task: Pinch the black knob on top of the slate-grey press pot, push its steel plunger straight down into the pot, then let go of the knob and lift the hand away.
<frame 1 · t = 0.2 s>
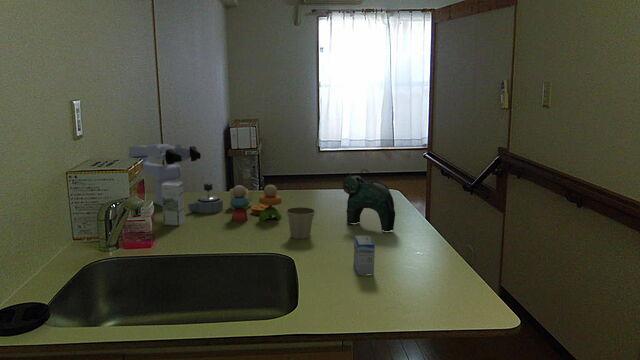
hand: (190, 157, 203), 21 cm above the worktop, tool horizontal, fingers open, 7 cm apart
flower pot: (300, 237, 180), on the worktop
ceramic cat: (369, 227, 191), on the worktop
beige rounded domed part: (239, 207, 217), on the worktop
plunger: (208, 191, 212), point 7 cm above the worktop, slide at 0.0 cm
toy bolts: (254, 217, 204), on the worktop
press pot: (208, 209, 213), on the worktop
medicine box: (363, 271, 150), on the worktop
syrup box: (174, 224, 193), on the worktop
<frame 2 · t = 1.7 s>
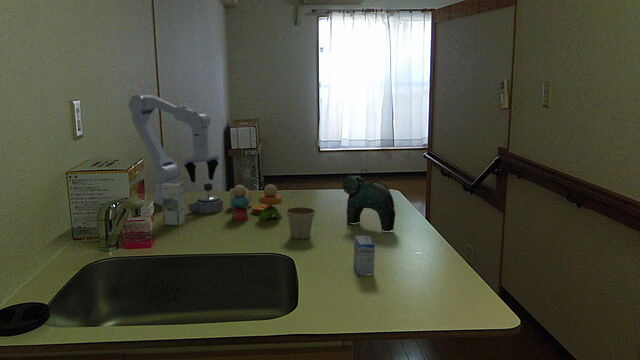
hand: (202, 180, 215), 10 cm above the worktop, tool pointing down, fingers open, 7 cm apart
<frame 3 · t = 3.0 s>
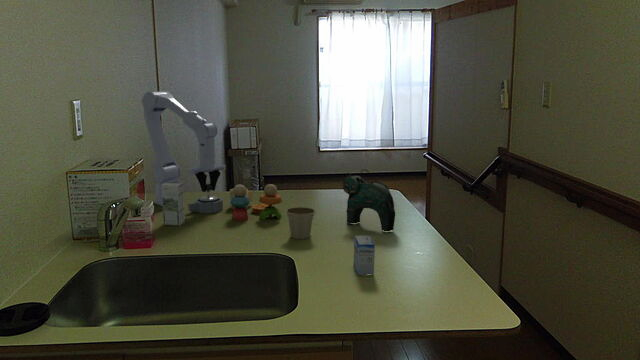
hand: (208, 190, 211), 7 cm above the worktop, tool pointing down, fingers closed on plunger, 3 cm apart
plunger: (208, 191, 212), point 7 cm above the worktop, slide at 0.0 cm, touching gripper
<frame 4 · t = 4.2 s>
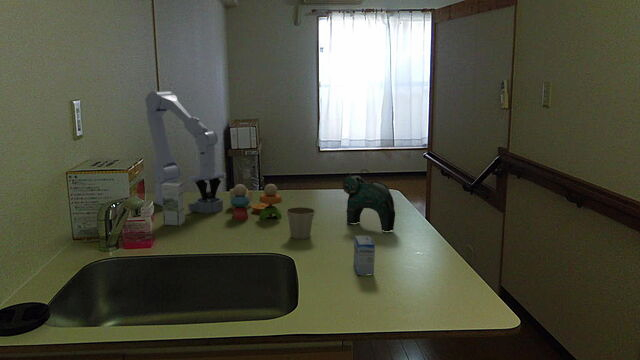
hand: (208, 198, 212), 4 cm above the worktop, tool pointing down, fingers closed on plunger, 3 cm apart
plunger: (208, 199, 212), point 4 cm above the worktop, slide at 3.1 cm, touching gripper
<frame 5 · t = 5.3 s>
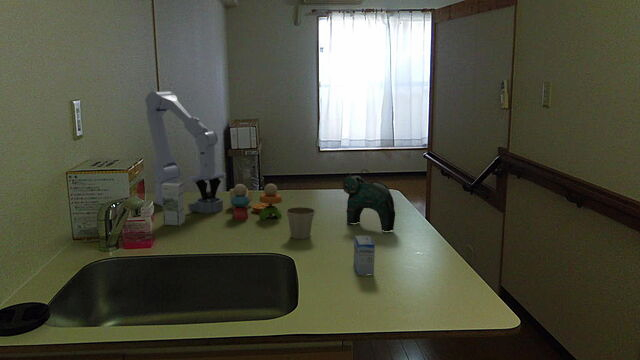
hand: (208, 198, 212), 4 cm above the worktop, tool pointing down, fingers closed on plunger, 3 cm apart
plunger: (208, 199, 212), point 4 cm above the worktop, slide at 3.1 cm, touching gripper
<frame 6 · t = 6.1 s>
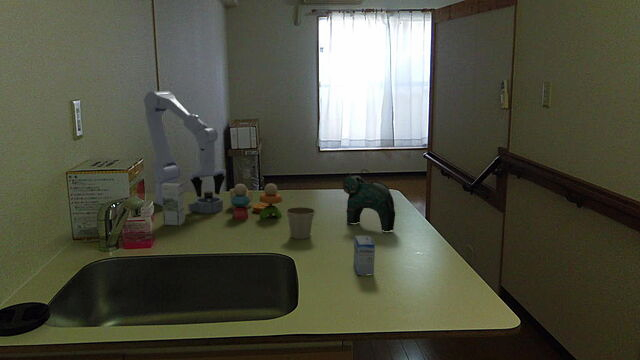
hand: (208, 195, 212), 6 cm above the worktop, tool pointing down, fingers open, 7 cm apart
plunger: (208, 199, 212), point 4 cm above the worktop, slide at 3.1 cm
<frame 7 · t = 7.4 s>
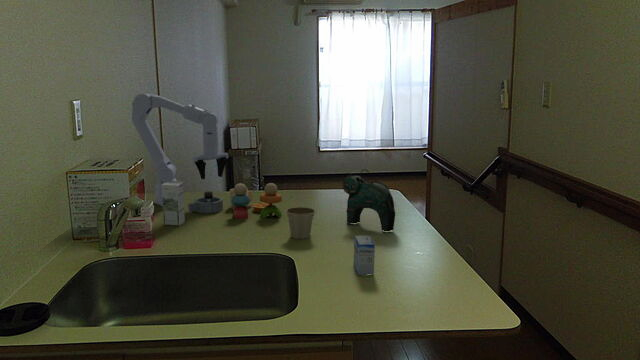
hand: (211, 177, 221), 10 cm above the worktop, tool pointing down, fingers open, 7 cm apart
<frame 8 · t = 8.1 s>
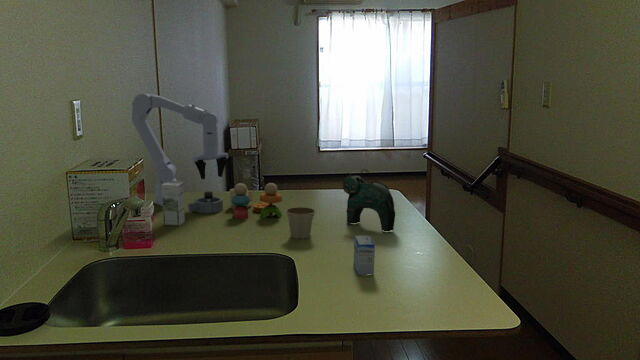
hand: (211, 177, 221), 10 cm above the worktop, tool pointing down, fingers open, 7 cm apart
at the end: plunger slide at 3.1 cm; the gripper is holding nothing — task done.
